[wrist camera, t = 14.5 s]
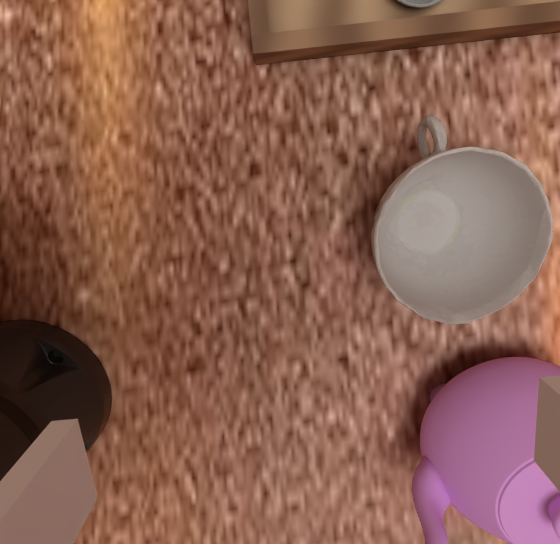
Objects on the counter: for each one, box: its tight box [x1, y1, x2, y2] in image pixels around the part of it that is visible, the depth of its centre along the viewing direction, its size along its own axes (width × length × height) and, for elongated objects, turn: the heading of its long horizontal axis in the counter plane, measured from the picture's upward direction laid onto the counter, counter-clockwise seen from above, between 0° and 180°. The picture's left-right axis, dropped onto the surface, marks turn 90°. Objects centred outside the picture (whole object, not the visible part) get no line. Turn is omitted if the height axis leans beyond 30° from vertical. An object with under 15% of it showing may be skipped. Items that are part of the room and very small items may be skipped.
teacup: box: [371, 116, 553, 325], centre depth 33 cm, size 15×12×8 cm
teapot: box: [412, 357, 560, 544], centre depth 36 cm, size 22×16×14 cm
